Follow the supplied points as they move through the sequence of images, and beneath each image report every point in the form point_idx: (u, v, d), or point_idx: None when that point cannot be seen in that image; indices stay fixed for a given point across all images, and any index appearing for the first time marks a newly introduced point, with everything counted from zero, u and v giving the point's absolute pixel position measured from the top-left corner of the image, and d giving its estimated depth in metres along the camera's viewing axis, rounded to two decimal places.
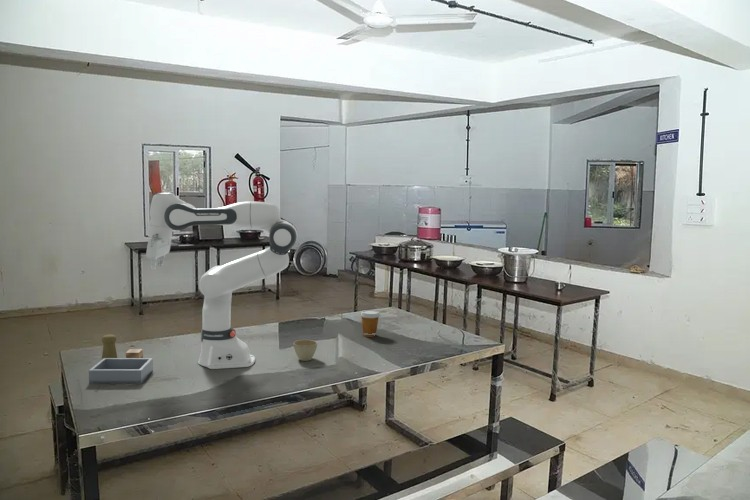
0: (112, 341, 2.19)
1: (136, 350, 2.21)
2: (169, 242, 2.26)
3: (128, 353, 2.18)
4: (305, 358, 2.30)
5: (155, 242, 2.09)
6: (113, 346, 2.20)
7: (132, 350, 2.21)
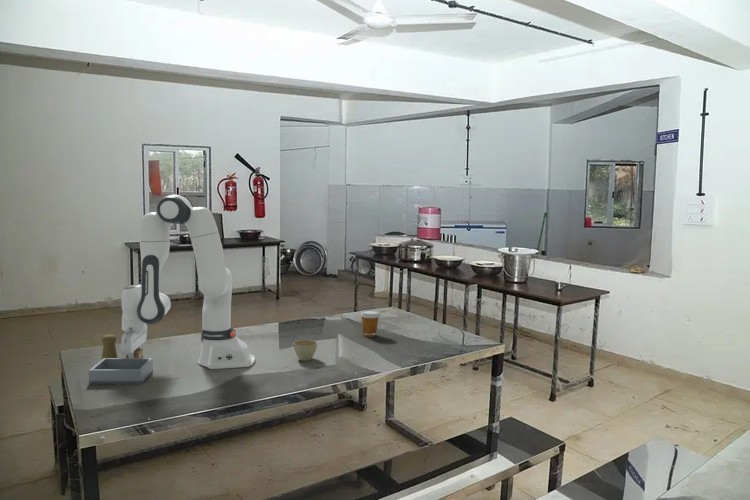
0: (112, 341, 2.19)
1: (136, 350, 2.21)
2: (145, 330, 2.28)
3: None
4: (305, 358, 2.30)
5: (129, 337, 2.11)
6: (113, 346, 2.20)
7: None
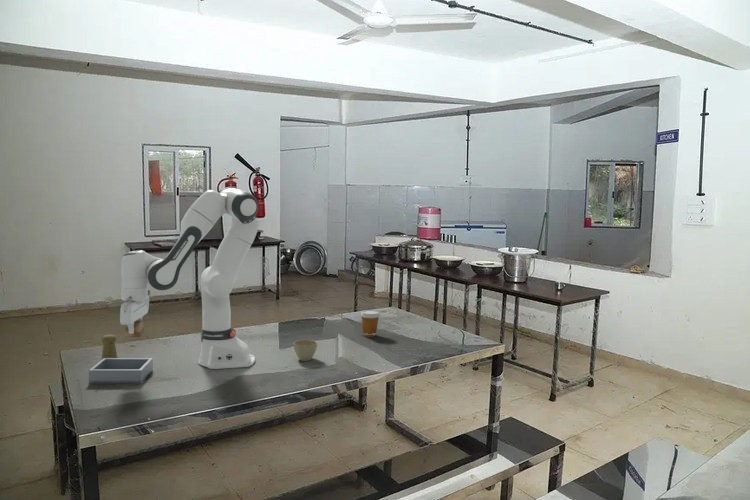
0: (112, 341, 2.19)
1: (136, 322, 2.04)
2: (147, 301, 2.11)
3: None
4: (305, 358, 2.30)
5: (128, 307, 1.94)
6: (113, 346, 2.20)
7: None
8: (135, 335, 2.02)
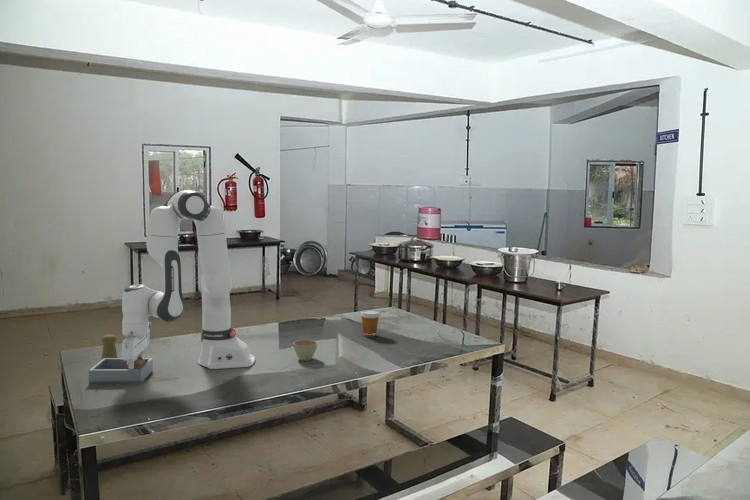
0: (112, 341, 2.19)
1: (138, 361, 2.04)
2: (147, 334, 2.11)
3: None
4: (305, 358, 2.30)
5: (130, 342, 1.94)
6: (113, 346, 2.20)
7: None
8: None
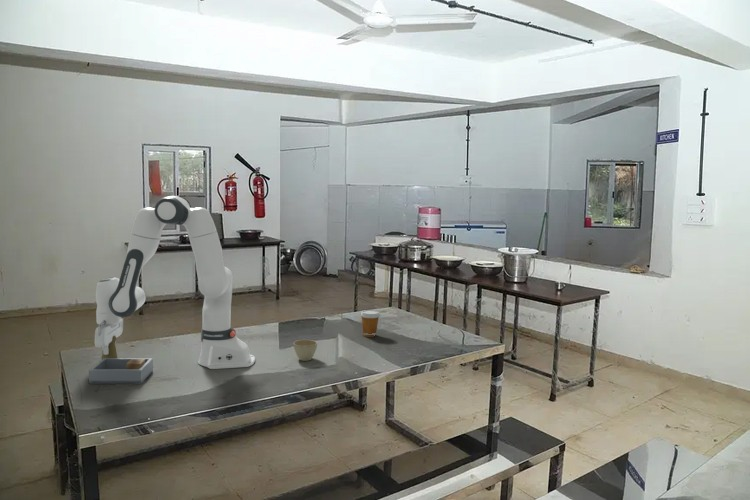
0: (112, 341, 2.19)
1: (138, 361, 2.04)
2: (121, 323, 2.27)
3: (129, 364, 2.02)
4: (305, 358, 2.30)
5: (102, 330, 2.10)
6: (113, 346, 2.20)
7: (133, 361, 2.05)
8: None
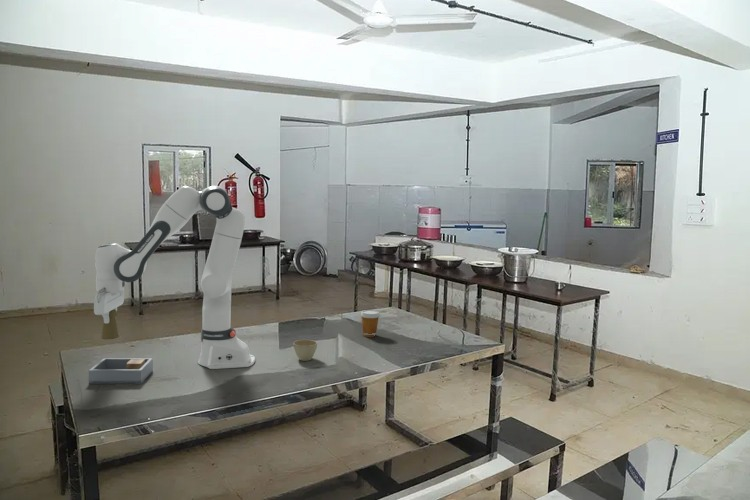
0: (112, 316, 2.09)
1: (138, 361, 2.04)
2: (122, 293, 2.18)
3: (129, 364, 2.02)
4: (305, 358, 2.30)
5: (102, 297, 2.01)
6: (113, 321, 2.11)
7: (133, 361, 2.05)
8: None
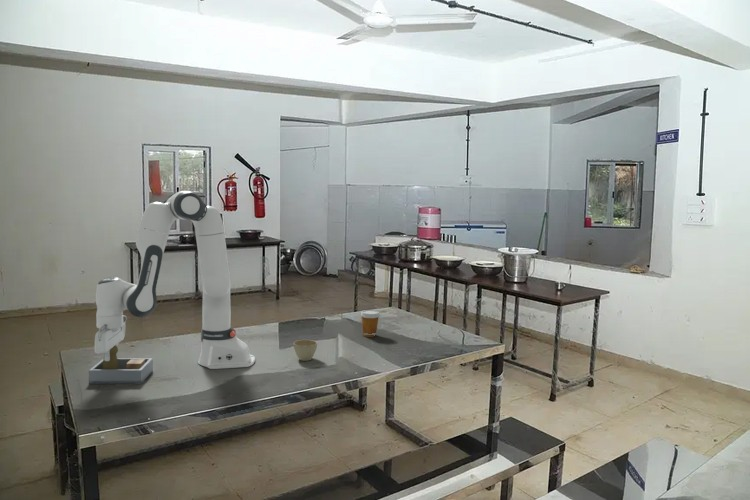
0: (113, 353, 2.01)
1: (138, 361, 2.04)
2: (123, 327, 2.10)
3: (129, 364, 2.02)
4: (305, 358, 2.30)
5: (103, 335, 1.93)
6: (114, 357, 2.02)
7: (133, 361, 2.05)
8: None
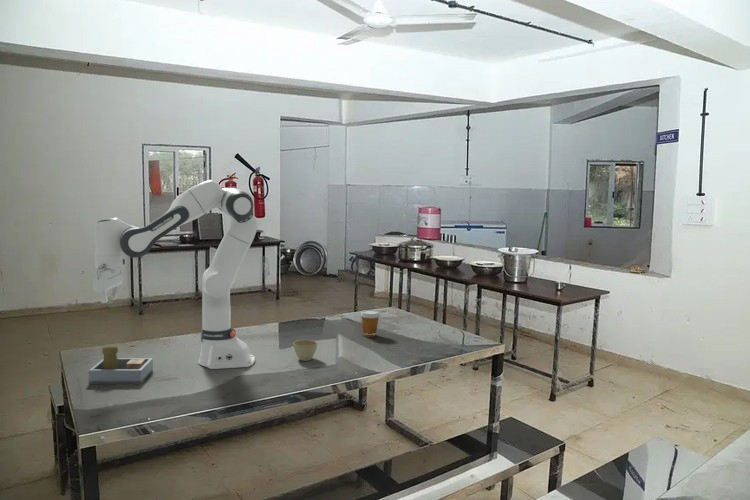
0: (113, 353, 2.01)
1: (138, 361, 2.04)
2: (122, 271, 2.08)
3: (129, 364, 2.02)
4: (305, 358, 2.30)
5: (102, 274, 1.91)
6: (114, 357, 2.02)
7: (133, 361, 2.05)
8: None
